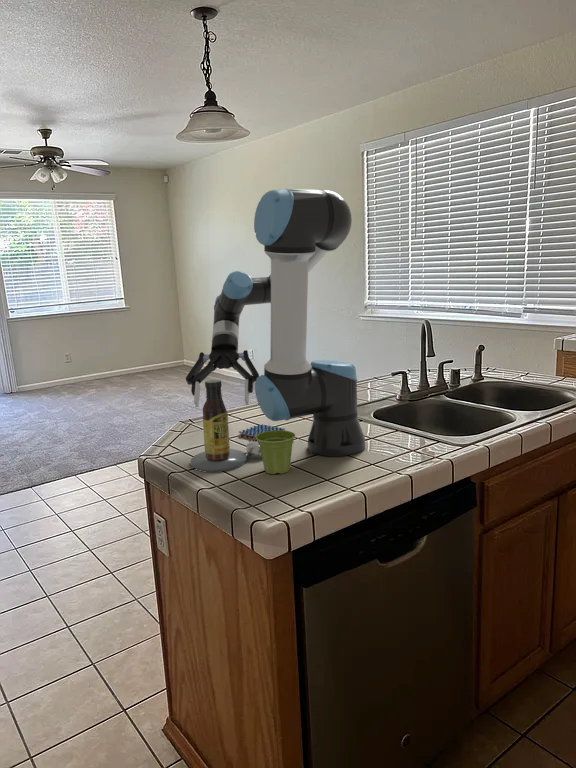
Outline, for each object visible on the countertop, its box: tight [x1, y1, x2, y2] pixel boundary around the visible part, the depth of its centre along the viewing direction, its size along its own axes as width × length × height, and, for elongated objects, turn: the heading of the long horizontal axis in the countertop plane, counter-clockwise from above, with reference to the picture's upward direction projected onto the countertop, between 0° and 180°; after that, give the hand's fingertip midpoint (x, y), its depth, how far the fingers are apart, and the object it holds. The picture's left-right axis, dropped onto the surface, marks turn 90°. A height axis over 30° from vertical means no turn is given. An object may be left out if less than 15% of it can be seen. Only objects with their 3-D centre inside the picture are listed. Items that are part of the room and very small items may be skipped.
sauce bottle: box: [202, 379, 231, 461], centre depth 141 cm, size 6×6×20 cm
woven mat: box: [238, 423, 286, 441], centre depth 164 cm, size 10×11×2 cm
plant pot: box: [255, 429, 296, 475], centre depth 135 cm, size 9×9×9 cm
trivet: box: [190, 448, 247, 473], centre depth 143 cm, size 14×14×1 cm
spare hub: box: [245, 440, 263, 460], centre depth 147 cm, size 6×6×3 cm
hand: (221, 403), depth 151 cm, fingers open, 13 cm apart
